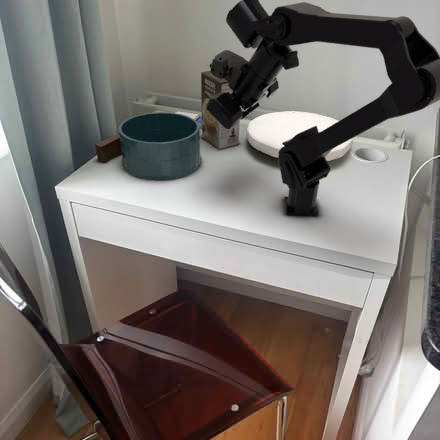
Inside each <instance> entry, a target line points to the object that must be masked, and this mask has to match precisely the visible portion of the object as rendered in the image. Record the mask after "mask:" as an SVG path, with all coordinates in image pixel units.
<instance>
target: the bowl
mask: <svg viewBox="0 0 440 440" xmlns="http://www.w3.org/2000/svg"><path fill="white" fill-rule="evenodd" d="M197 121H198V120H194V119H193V118H191V117H188V116H186V115H182V114H177V113H175V112H168V111H167V112H166V111H165V112H164V111H155V112H146V113H140V114H137V115H134V116H130V117H128V118H125V120H123V121H122V122H121V123H120V124H119V126H118V133H119V135H120V142H121V149H122V154H121V156H122V164H123V167H124V169H125V171H126V172H127V173H129V174H130V175H132V176H134V177H137V178H140V179H144V180H150V181H169V180H176V179H180V178H183V177H186V176H188V175H191V174H192V173H194V172H195V171H196V170H198V168H199V166H200V163H201V134H200V133H201V132H200V131H201V130H200V129H201V128H200V126H199V124H198V122H197Z"/></svg>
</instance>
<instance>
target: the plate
mask: <svg viewBox="0 0 440 440" xmlns="http://www.w3.org/2000/svg"><path fill="white" fill-rule="evenodd" d="M338 121H339V120H337V119H335V118H333V117H329V116H326V115H322V114H319V113H313V112H307V111H298V110H297V111H296V110H295V111H292V110H289V111H275V112H270V113H264V114H261V115H259V116H257V117H255V118H253V119H252V120H250V122H249V123H248V125H247V128H246V132H245V133H246V134H245V135H246V139H247V142H248V143H249V144H250V146H252V147H253V148H254V149H256V150H257V151H258V152H259V151H260V152H261V153H263V154H266V155H268V156H270V157H273V158H277V159H279V158H278V156H279V153H278V152H279V150H280V149H281V148H282V147H284V145H283V144H282V143H283V142H285V141H287V140H290V139H292V138H293V137H294V136H295V135H297V134H298V133H301V132H303V131H305V130H307V129H310V128H312V127H314V126H317V128H318V132H321V131H323V130H325V129H327V128H328V127H330V126H332V125H333V124H335V123H337V122H338ZM353 141H354V138H352V139H350V140H348V141H346V142H344V143H343V144H341V145H339V146H337V147H335V148H333V149H332V150H331V151H330V152H329V154H328V155H327V156H326V157H325V159H326V160H327V162H330V161H333V160H337V159H340V158H342V157H343V156H344V155H346V153H347V152H348V151H349V150H350V148H351V147H352V145H353Z"/></svg>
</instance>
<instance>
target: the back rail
mask: <svg viewBox="0 0 440 440" xmlns="http://www.w3.org/2000/svg"><path fill="white" fill-rule="evenodd" d="M95 151H96V156H97V162H101V163H103V164H105V163H107V162H109V161H111V160H112V159H114V158H116V157H118V156H120V155H122V149H121V142H120V135H119V132H118V133H116V134H114V135H112V136H110V137H108V138H106V139H104V140H101V141H100V142H98V143H96V144H95Z"/></svg>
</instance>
